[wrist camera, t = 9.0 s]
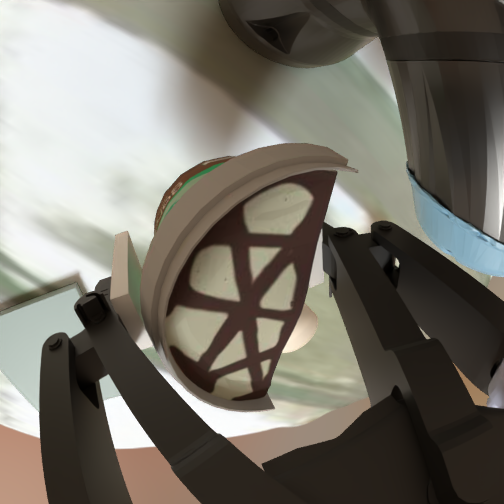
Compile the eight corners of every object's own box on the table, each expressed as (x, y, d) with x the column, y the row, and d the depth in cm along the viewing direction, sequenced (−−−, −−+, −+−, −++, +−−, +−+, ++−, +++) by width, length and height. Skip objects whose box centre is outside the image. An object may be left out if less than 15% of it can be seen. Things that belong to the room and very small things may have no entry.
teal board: (76, 282, 23) (75, 287, 23) (136, 384, 31) (137, 390, 30) (-28, 322, 19) (-31, 328, 19) (42, 409, 27) (41, 414, 26)
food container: (150, 117, 15) (169, 105, 6) (250, 134, 17) (362, 154, 9) (131, 307, 19) (146, 431, 10) (215, 308, 21) (271, 415, 13)
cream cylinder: (281, 267, 32) (317, 301, 26) (285, 303, 34) (318, 339, 28) (238, 283, 30) (267, 323, 25) (246, 319, 33) (273, 360, 27)
